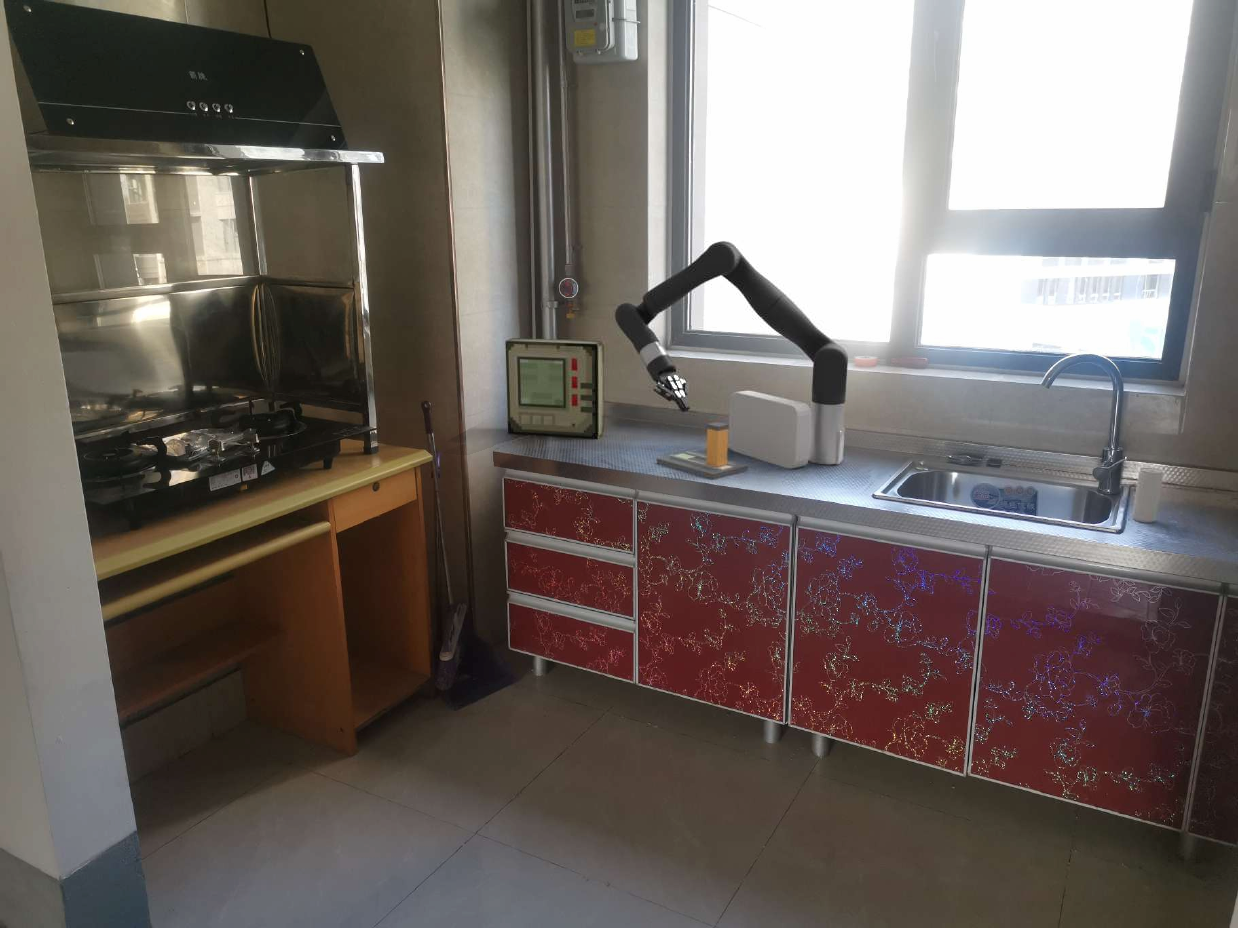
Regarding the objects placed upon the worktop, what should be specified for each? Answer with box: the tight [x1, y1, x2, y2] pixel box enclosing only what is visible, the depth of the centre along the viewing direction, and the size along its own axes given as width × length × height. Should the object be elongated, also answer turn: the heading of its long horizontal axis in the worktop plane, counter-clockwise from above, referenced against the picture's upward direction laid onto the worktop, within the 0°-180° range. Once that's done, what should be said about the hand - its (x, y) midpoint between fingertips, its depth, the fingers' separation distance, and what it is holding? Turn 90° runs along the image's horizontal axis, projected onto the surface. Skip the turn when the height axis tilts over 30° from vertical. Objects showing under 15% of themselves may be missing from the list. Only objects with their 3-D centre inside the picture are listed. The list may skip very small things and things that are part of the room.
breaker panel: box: [656, 450, 749, 480], centre depth 255 cm, size 22×14×2 cm, turn 41°
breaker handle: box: [706, 421, 729, 467], centre depth 249 cm, size 4×4×11 cm
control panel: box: [505, 337, 605, 440], centre depth 290 cm, size 30×8×30 cm, turn 76°
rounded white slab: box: [728, 390, 811, 470], centre depth 263 cm, size 29×8×18 cm, turn 33°
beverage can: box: [1131, 467, 1164, 524], centre depth 210 cm, size 5×5×12 cm
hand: (686, 410), depth 256 cm, fingers closed
